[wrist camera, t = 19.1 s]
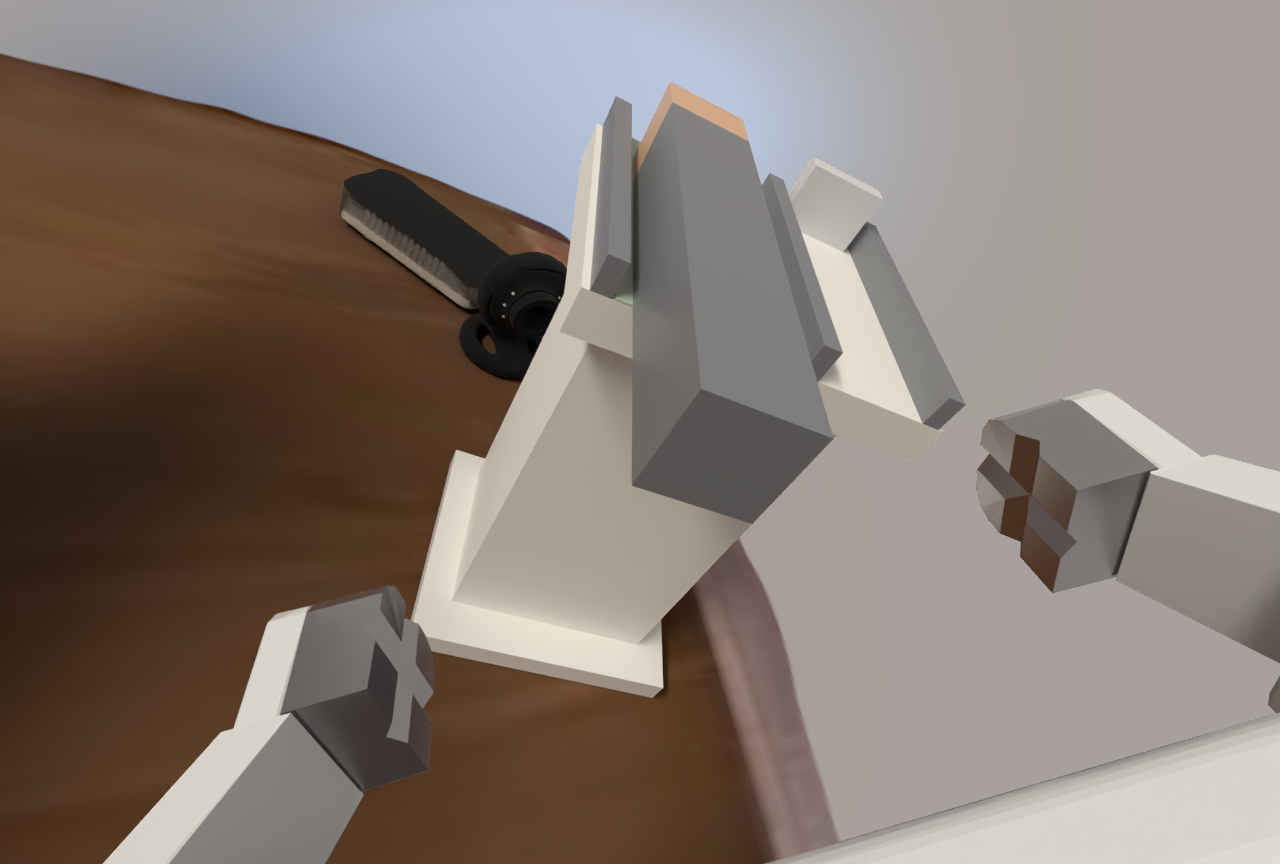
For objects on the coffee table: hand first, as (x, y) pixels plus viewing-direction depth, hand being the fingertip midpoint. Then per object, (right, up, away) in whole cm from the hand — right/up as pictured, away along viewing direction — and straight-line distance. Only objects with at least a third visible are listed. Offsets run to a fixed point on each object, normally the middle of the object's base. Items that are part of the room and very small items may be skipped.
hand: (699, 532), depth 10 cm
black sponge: (-21, +17, +55) cm, 61 cm away
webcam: (-13, +8, +51) cm, 53 cm away
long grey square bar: (+1, +6, +16) cm, 17 cm away
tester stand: (-7, -8, +37) cm, 39 cm away
